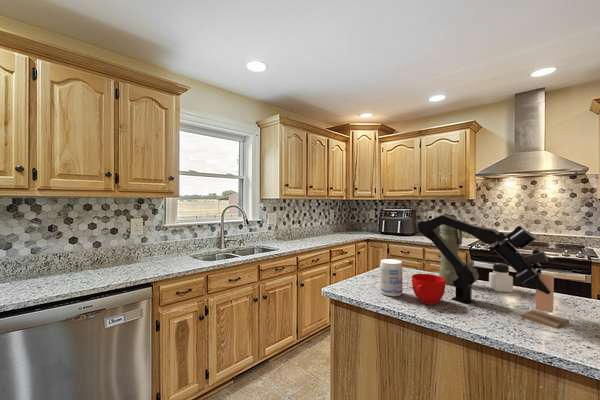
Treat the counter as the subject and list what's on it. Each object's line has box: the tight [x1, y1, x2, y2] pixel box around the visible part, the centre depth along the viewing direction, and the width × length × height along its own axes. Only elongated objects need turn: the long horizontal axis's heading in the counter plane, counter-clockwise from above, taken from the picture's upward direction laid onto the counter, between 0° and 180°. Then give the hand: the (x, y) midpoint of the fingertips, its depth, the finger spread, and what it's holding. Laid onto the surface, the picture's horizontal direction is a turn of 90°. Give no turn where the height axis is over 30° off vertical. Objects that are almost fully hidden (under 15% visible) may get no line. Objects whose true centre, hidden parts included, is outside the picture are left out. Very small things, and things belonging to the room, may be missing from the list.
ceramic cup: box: [411, 273, 446, 305], centre depth 116 cm, size 13×17×10 cm
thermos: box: [437, 214, 463, 287], centre depth 143 cm, size 9×12×35 cm
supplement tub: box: [379, 258, 403, 297], centre depth 127 cm, size 10×10×15 cm
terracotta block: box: [535, 273, 555, 314], centre depth 100 cm, size 4×4×12 cm
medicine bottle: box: [488, 263, 514, 293], centre depth 133 cm, size 7×7×12 cm
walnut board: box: [520, 309, 570, 329], centre depth 100 cm, size 10×10×1 cm
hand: (549, 291), depth 99 cm, fingers closed on terracotta block, 4 cm apart
